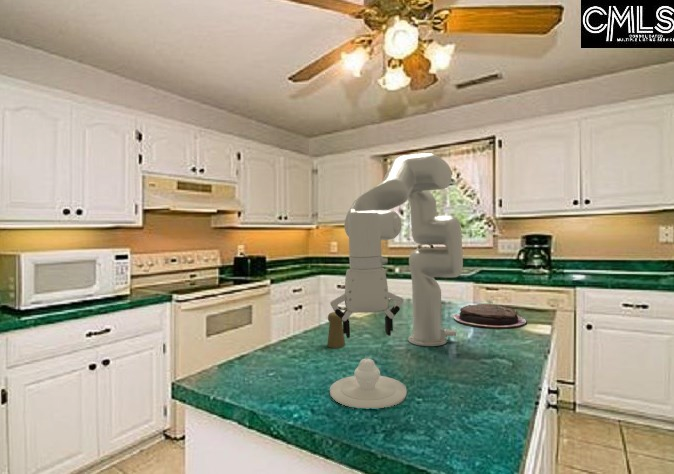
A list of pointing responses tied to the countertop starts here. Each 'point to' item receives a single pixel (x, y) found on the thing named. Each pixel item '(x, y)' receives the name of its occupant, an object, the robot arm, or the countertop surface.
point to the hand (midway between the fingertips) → (368, 335)
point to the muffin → (367, 374)
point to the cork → (335, 331)
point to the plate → (368, 393)
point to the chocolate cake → (489, 316)
